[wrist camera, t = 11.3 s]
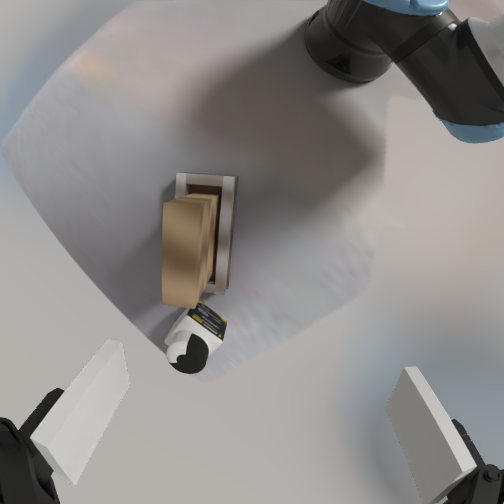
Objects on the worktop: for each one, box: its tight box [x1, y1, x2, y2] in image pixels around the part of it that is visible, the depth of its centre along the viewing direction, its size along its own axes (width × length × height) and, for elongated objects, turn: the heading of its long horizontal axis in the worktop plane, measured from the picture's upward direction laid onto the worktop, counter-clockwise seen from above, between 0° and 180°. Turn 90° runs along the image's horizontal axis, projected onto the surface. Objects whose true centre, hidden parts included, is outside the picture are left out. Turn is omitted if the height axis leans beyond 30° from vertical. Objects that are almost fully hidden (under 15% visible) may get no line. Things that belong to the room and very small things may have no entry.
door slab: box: [162, 193, 220, 309], centre depth 38 cm, size 12×4×14 cm, turn 174°
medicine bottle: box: [164, 300, 227, 374], centre depth 44 cm, size 7×7×12 cm
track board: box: [175, 173, 238, 295], centre depth 44 cm, size 18×9×4 cm, turn 174°
